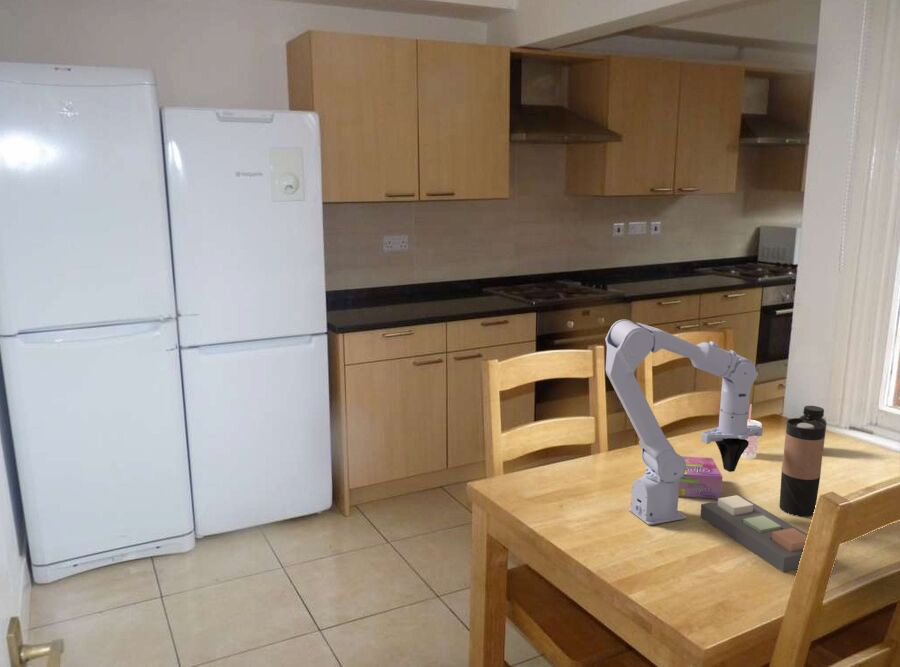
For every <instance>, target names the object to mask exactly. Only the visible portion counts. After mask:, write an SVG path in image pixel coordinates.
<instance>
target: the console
mask: <svg viewBox="0 0 900 667" xmlns="http://www.w3.org/2000/svg"><path fill="white" fill-rule="evenodd" d="M740 497H741V498H743V499H744V500H746V501H748V502H750V503H751V504H753V512H751V513H745V514H740V515H734V516H733V515H731V514H730V513H728V512H726V511H725V510H723V509H722V508H720V507H718V506H717V504H718V500H717V501H712V502H706V503H701V504H700V505H701V506H700V518H701V519H702V520H704V521H706V522H707V523H709V524H710V525H712V526H713V527H715V528H716V529H717V530H720V531H721V532H722V533H724V534H725V535H726V536H728V537H729V538H731V539H732V540H734V541H736V542H737V543H738V544H740V545H742V546H743V547H745V548H746V549H747V550H749V551H750V552H752V553H753V554H755V555H757V556H758V557H759V558H761V559H762V560H764V561H765V562H766V563H768V564H770V565H772V566H773V567H774V568H776V569H778V570H779V571H780V572H782V573H785V572H790V571H794V570H798V569H797V568H798V565H799V561H800V558H801V555H802V552H803V550H799V551H794V552H790V551H788V550H787V549H785V548H784V547H782V546H781V545H779V544H777V543H776V542H774V541H773V540H772V532H775V531H780V530H785V529H790V528H794V529H796V530H797V531H799V532H801V533H802V534H804V535H806V536H807V533H805V531H803V530H800V529H799V528H797V527H796V526H794V525H792V524H790V523H789V522H788V521H785V520H783V519H782V518H780V517H779V516H776V515H775V514H773V513H772V512H770V511H768V510H766V509H765V508H763V507H761V506H760V505H758V504H756V503H754V502H753V501H751V500H749V499H747V498H746V497H744V496H740ZM757 516H765V517H767V518H768V519H770V520H772V521H774V522H775V523H777V524H779V525H780V526H781V529H779V530H773V531H768V532H763V533H760V532H758V531H757V530H755V529H753V528H752V527H750V526H749V525H747V524H745V523H744V522H743V519H746V518H752V517H757Z"/></svg>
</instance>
